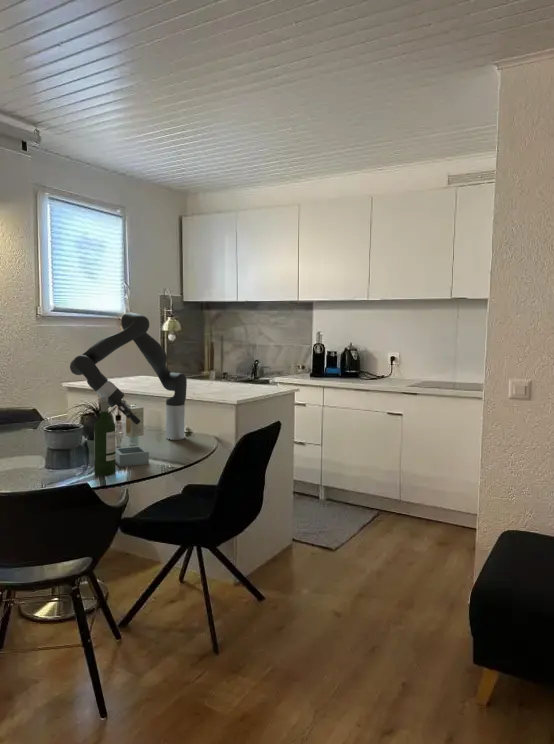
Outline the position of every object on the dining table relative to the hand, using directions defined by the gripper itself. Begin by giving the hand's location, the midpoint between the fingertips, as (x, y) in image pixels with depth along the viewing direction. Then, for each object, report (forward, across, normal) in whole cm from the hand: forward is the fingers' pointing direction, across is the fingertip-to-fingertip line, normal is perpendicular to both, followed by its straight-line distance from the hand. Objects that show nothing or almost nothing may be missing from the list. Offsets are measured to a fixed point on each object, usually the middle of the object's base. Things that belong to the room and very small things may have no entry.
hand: (138, 421), depth 228 cm
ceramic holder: (+10, -1, +14) cm, 17 cm away
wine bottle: (+4, -16, +21) cm, 27 cm away
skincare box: (+3, 0, +6) cm, 7 cm away
